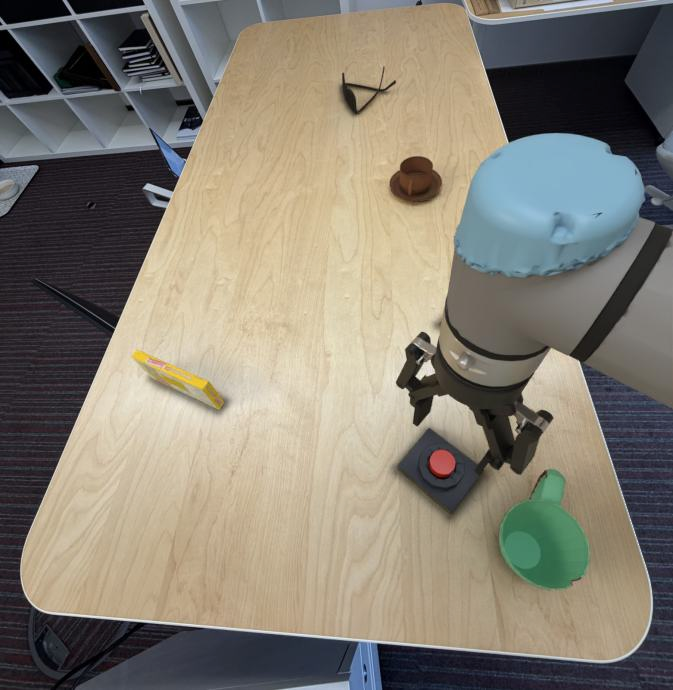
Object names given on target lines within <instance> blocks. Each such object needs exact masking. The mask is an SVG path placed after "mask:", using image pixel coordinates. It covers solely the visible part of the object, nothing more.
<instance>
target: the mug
mask: <svg viewBox="0 0 673 690" xmlns="http://www.w3.org/2000/svg"><path fill="white" fill-rule="evenodd" d="M565 487H566V479H565V476H564V475H563V474H562V473H561V472H560V471H559V470H557V469H555V468H547V469H544V470H543V471H542V473H541V474H540V475H539V476H538V478H537V480H536V482H535V484H534V487H533V489H532V491H531V493H530V496H529V498H528V499H524V500H522V501H520V502H517V503H515V504H513V506H512V507H510V509H509V510H508V511H507V512H506V513H505V514H504V516H503V519H502V521H501V523H500V525H499V530H498V545H499V549H500V553H501V556H502V558H503V560H504V561H505V563H506V565H507V566H508V567H509V568H510V570H512V571H513V572H514V573H515V574H516V575H517V576H518V577H519V578H520V579H522V580H524V581H525V582H526V583H528V584H530V585H531V586H533V587H536V588H539V589H542V590H547V591H561V590H562V591H566V590H567V589H569V588H571V587H573V585H574V584H573V582H578V581H580V580H582V579H583V578H584V577H585V576H586V574H587V572H588V568H589V565H590V562H591V558H590V557H591V556H590V555H591V554H590V553H591V552H590V549H591V548H590V545H589V541H588V538H587V536H586V532H585V531H584V529H583V527H582V525H580V523H579V521H578V520H577V519H576V517H574V516H573V515H572V514H571V513H570V512H569V511H568V510H567V509H565V508H564V507H562V506H561V505H562V500H563V498H564V497H563V496H564V493H565V492H564V491H565Z"/></svg>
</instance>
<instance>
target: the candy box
mask: <svg viewBox="0 0 673 690" xmlns="http://www.w3.org/2000/svg"><path fill="white" fill-rule="evenodd" d="M130 358H131V359H132V360H134V362H135V363H136V364H137V365H139V367H140V368H142V370H143V371H144V372H146V374H148V376H149V377H150V378H151V379H152V380H155V381H157V382H159V383H161V384H163V385H165V386H167V387H170V388H171V389H174V390H175V391H177V392H180V393H182V394H183V395H186V396H188V397H190V398H193V399H195V400H197V401H199V402H201V403H203V404H205V405H208V406H210V407H212V408H214V409H216V410H219V411H220V410H221V409H222V407H223V406H224V405H225V400H224V399H223V397H222V396H221V395H220V394H219V392H218V391H217V389H216V388H215V387H214V386H213V384H212V383H211V382H210V381H209V380H207V379H204V378H202V377H200V376H198V375H195V374H194V373H191V372H188V371H187V370H184V369H182V368H179V367H178V366H176V365H173V364H170V363H168V362H166V361H164V360H161V359H159V358H157V357H155V356H152V355H150V354H148V353H146V352H144V351H141V350H139V349H136V350H135V351H134V352H133V353H132V354H131V355H130Z"/></svg>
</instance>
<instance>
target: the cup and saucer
mask: <svg viewBox="0 0 673 690" xmlns="http://www.w3.org/2000/svg"><path fill="white" fill-rule="evenodd" d="M442 184H443V180H442V177H441V175H440V174H439V173H438V171H436V170H434V164H433V161H431V160H430V159H429V158H428V157H425V156H421V155H414V156H409V157H406V158H405V159H403V160H402V161H401V163H400V165H399V170H397V171H396V172H395V173H393V174H392V176H391V177H390V179H389V188H390V191H391V193H393V195H394V196H395V197H397V198H398V199H401V200H403V201H406V202H413V203H414V202H415V203H416V202H422V201H426V200H429V199H431V198H432V197H434V196H436V195H437V194H438V193H439V192H440V190H441V187H442Z"/></svg>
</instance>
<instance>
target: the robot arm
mask: <svg viewBox="0 0 673 690" xmlns="http://www.w3.org/2000/svg"><path fill="white" fill-rule="evenodd" d="M644 199H645V185H644V181H643V178H642V174H641V173H640V170H639V168H638V167H637V166H636V164H635V163H634V162H633V161H632V160H631V159H630V158H629V157H627V156H624V155H617V154H613V153H612V151H611V146H610V145H609V144H608V143H606V142H604V141H602V140H599V139H596V138H593V137H589V136H585V135H580V134H574V133H563V132H561V133H560V132H553V133H552V132H551V133H540V134H533V135H528V136H524V137H521V138H518V139H515V140H513V141H510V142H508V143H506V144H505V145H503V146H501V147H499V148H497V149H496V150H495V151H493V152H492V153H491V154H490V155H489V156H487V157H486V158H485V159H484V160H483V161H481V162H480V164H479V166H478V167H477V169H476V171H475V172H474V174H473V176H472V178H471V181H470V183H469V187H468V190H467V194H466V198H465V203H464V206H463V209H462V214H461V217H460V220H459V224H458V225H457V226H456V228H455V230H456V231H455V232H454V233H455V234H454V236H453V245H454V247H453V249H454V250H453V256H452V261H451V269H450V273H449V274H450V275H449V282H448V287H447V294H446V297H445V301H444V307H443V312H442V317H441V321H442V322H441V321H440V322H441V326H440V328H439V334H438V338H437V342H436V346H435V345H434V344H432V341H431V340H432V339H431V337H430V335H429V334H428V333H426V332H425V331H420V332H419V333H418V334H417V335H416V336H415V338H414V339H413V340H411V342H410V343H409V344H408V345H407V346H406V347H405V348H404V352H405V359H406V360H405V362H404V364H403V366H402V368H401V371H400V373H399V375H398V376H397V379H396V381H395V385H396V387H398V388H399V389H400V390H405V389H406V391H408V393H407V395H408V397H409V404H410V406H411V407H412V408H414V409H413V416H412V424H413V425H414V426H415V427H416V428H418V427H419V426H420V425H421V424H422V423H423V421H424V420H425V419H426V418H427V417H428V415H429V414H430V413H431V411H432V406H433V401H434V397H435V396H437V397H438V398H439V397H443V396H447V395H448V396H449V397H451V399H452V400H455V401H456V402H458V403H460V404H462V405H464V406H466V407H468V409H469V410H470V411H471V412H472V414H473V417H474V419H475V423H476V424H477V426H480V427H482V430H483V433H484V437H485V440H486V442H487V445H488V450H487V451H486V453H485V454H484V455H483V457H482V458H481V460H480V461H479V463H478V464H477V465H478V466H477V467H476V469H475V470H474V471H475V472H476V473H477V474H479V475H480V474H481V473H482V471H483V470H484V471H485V469H486V468H487V466H488V465H489V466H490V467H491V468H492V469H494V470H496V471H500V470H501V469H502V467H503V465H505V464H508V465H509V467H510V470H511V471H512V472H513V473H514V474H516V475H519V476H522V474H523V473H524V472H525V470H526V469H527V468H528V466H529V465H530V463H531V462H532V460H533V459H534V457H536V456H535V455H536V452H537V449H538V445H539V442H540V439H541V437H542V436H543V434H544V433H545V432H546V431H547V428H548V427H549V425H550V424H551V423H552V421H553V420H554V415H553V414H552V413H551V412H549V411H548V410H545V409H539V410H538V411H535V409H534V410H533V409H531V408H529V406H527V405H526V404H525V403H524V395H523V391H524V390H525V388H526V387H527V385H528V384H529V382H530V381H531V379H532V377H533V376H534V375H535V373H536V371H537V370H538V368H539V367H540V366H541V364H542V363H543V361H544V360H545V358H546V357H547V355H548V354H549V352H550V350H551V349H552V350H554V351H556V352H558V353H561V354H563V355H565V356H569V357H570V358H572V359H575V360H576V361H578V362H580V363H582V364H584V365H585V366H587V367H590V368H591V369H594V370H596V371H597V372H599V373H601V374H603V375H605V376H607V377H609V378H611V379H613V380H615V381H617V382H619V383H620V384H622V385H625V386H626V387H628V388H631V389H633V390H635V391H636V392H638V393H641V394H642V395H645V396H647V398H650V399H652V400H654V401H655V402H658V403H660V404H662V405H664V406H666V407H668V408H670V409H672V410H673V228H670V227H668V226H665V225H662V224H658V223H656V222H655V221H652V220H650V219H646V218H643V217H640V210H641V207H642V205H643V202H644ZM428 361H430V364H431V366H432V368H433V370H434V373H432V374H429V375H427V374H424V375H423V376H422V377H421V378H420V379H419V378H418V377H417V375H418V374H419V372H420V370H421V368H422V367H423V365H424V364H425V363H428ZM512 416H514V418H515V419H516V421H515V423H516V425H517V426H516V427H515V428H514V431H515V433H517V435H516V436H515V435H514V432H513V427H512V424H511V421H510V417H512ZM484 471H483V472H484ZM482 474H483V473H482ZM482 474H481V475H482ZM481 475H480V476H481Z"/></svg>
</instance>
